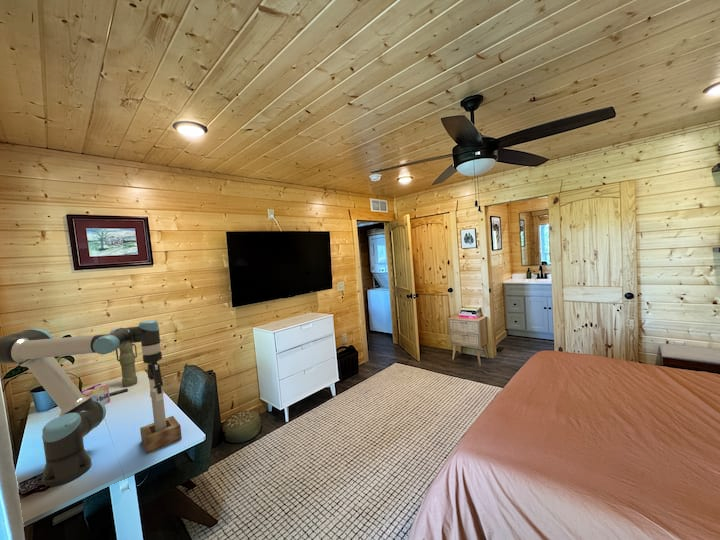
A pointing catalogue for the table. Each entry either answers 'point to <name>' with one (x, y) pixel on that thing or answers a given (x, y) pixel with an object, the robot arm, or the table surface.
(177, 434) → the socket block
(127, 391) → the multiport hub
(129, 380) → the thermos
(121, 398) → the table surface
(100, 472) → the table surface
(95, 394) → the gum box
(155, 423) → the cream tapered cylinder
